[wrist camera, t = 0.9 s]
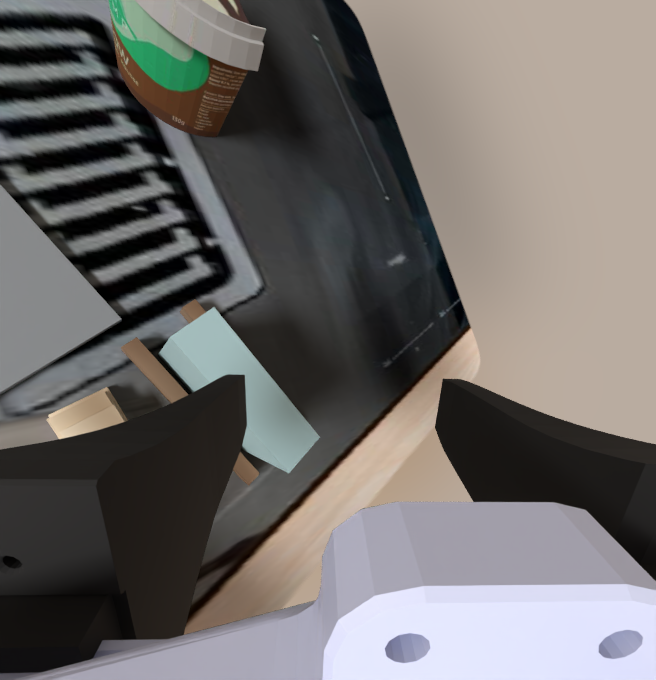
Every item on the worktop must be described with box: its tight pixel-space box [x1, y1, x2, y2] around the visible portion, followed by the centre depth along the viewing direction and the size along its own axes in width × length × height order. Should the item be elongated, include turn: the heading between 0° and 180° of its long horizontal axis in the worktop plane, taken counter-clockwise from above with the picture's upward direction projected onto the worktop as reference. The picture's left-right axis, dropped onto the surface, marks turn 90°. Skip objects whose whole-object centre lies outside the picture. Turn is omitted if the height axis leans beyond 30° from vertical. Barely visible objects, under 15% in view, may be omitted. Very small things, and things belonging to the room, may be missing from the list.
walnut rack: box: [121, 299, 260, 485], centre depth 22 cm, size 5×12×2 cm, turn 43°
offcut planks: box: [46, 387, 128, 439], centre depth 19 cm, size 3×10×3 cm, turn 32°
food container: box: [109, 0, 266, 137], centre depth 19 cm, size 12×6×10 cm, turn 29°
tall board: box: [158, 307, 320, 473], centre depth 20 cm, size 2×9×8 cm, turn 43°
